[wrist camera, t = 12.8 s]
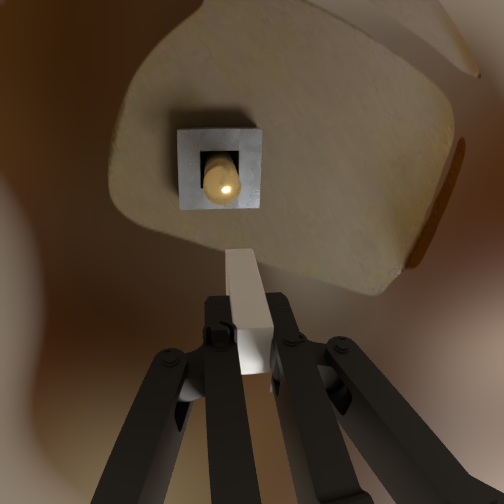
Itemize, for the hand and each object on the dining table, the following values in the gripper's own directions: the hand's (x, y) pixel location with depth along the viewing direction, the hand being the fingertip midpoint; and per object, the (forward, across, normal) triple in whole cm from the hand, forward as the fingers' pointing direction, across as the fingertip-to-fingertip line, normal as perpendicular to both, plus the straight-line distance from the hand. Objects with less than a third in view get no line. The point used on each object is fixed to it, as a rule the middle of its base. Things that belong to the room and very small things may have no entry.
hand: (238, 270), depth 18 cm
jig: (+34, 0, -1) cm, 34 cm away
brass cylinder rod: (+34, 0, -1) cm, 34 cm away
